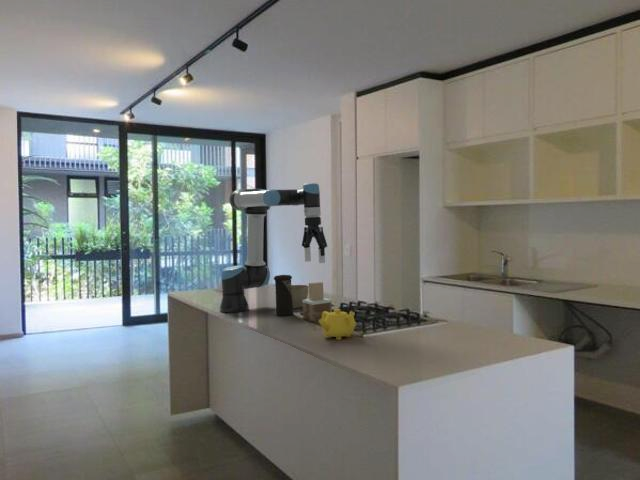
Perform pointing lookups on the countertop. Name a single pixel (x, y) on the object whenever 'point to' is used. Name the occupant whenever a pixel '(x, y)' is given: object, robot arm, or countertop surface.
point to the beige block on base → (316, 294)
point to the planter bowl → (299, 294)
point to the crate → (315, 311)
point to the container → (283, 295)
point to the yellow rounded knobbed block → (337, 324)
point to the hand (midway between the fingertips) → (314, 262)
